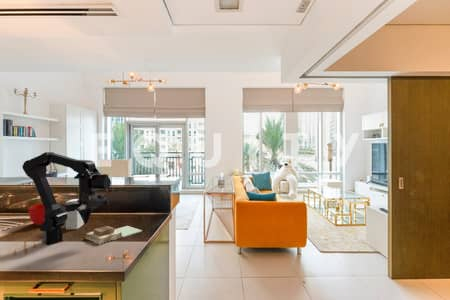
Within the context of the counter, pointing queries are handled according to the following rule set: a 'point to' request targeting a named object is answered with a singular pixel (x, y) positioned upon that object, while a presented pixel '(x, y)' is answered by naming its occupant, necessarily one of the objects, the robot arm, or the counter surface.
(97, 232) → the walnut tile
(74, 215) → the skincare box
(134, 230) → the sage mat
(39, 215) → the ceramic cup
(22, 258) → the counter surface
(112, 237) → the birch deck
